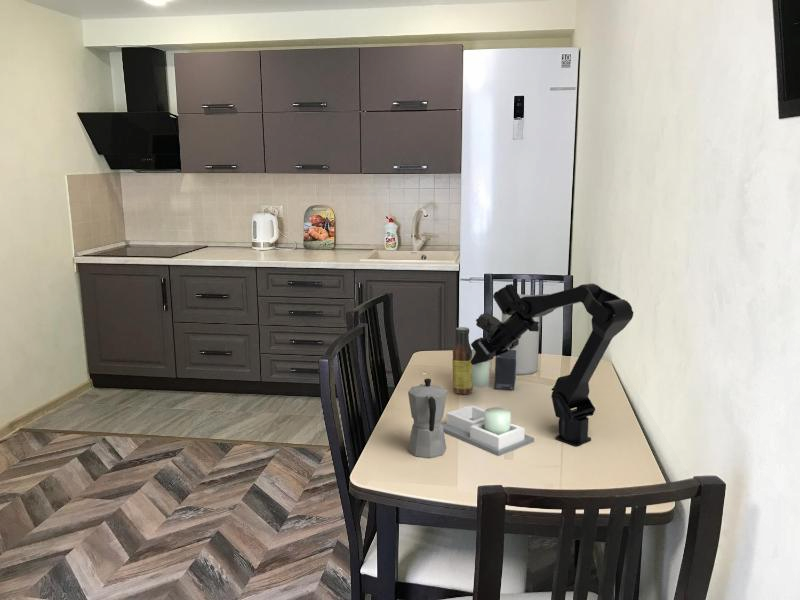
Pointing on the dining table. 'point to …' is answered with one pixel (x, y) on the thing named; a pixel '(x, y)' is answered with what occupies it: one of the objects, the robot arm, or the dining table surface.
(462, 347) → the sauce bottle
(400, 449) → the dining table surface
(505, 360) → the small box
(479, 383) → the pale green rounded block
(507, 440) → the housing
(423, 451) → the coffeepot
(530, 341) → the cylinder vase
